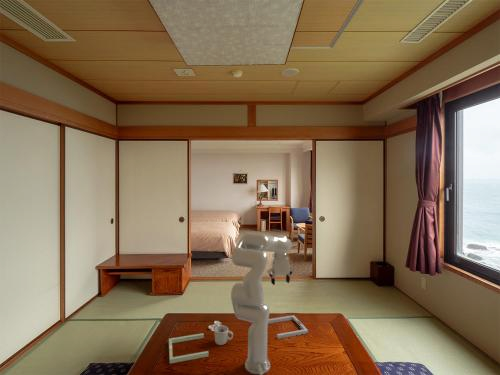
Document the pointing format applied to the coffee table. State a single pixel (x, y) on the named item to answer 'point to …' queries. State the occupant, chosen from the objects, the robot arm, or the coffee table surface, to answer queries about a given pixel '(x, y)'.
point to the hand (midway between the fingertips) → (280, 283)
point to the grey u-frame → (293, 333)
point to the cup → (222, 334)
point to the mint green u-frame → (189, 356)
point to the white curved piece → (214, 325)
